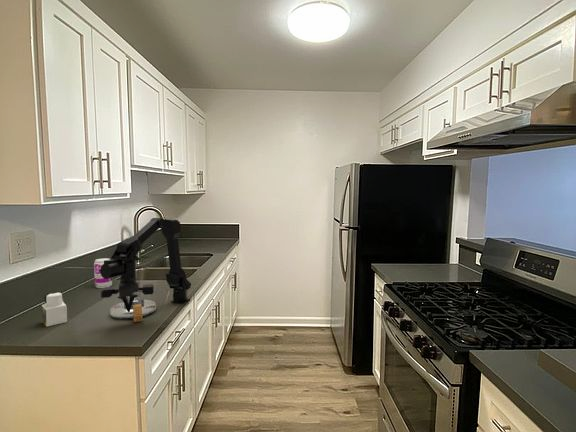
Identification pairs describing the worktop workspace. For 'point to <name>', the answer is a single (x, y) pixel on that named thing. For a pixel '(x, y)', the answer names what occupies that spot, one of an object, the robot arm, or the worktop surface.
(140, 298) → the cover
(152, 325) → the worktop surface
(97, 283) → the supplement can
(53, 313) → the medicine bottle
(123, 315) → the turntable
